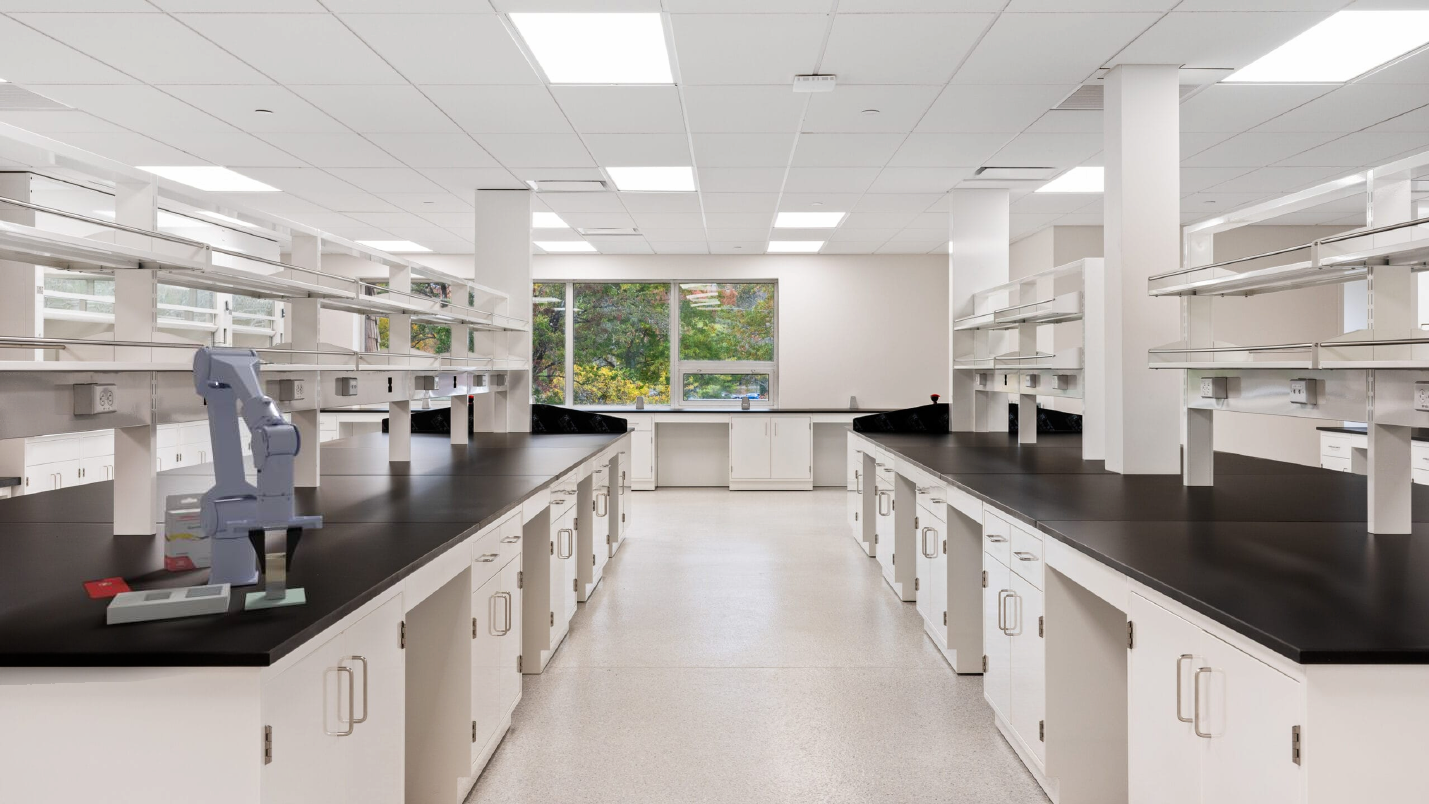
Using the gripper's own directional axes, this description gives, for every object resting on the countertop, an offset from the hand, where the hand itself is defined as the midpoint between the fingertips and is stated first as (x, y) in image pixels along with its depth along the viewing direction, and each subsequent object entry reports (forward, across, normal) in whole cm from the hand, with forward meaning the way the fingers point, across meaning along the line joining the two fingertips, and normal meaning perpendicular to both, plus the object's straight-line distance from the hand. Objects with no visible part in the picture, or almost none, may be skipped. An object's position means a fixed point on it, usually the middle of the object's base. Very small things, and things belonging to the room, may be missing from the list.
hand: (275, 572), depth 141 cm
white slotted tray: (+5, -15, 0) cm, 16 cm away
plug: (+4, 0, 0) cm, 4 cm away
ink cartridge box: (+5, -15, +35) cm, 38 cm away
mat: (+5, 0, 0) cm, 5 cm away
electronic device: (+5, -27, +22) cm, 35 cm away
